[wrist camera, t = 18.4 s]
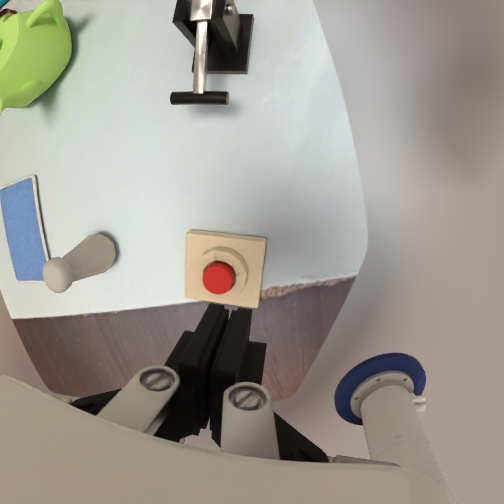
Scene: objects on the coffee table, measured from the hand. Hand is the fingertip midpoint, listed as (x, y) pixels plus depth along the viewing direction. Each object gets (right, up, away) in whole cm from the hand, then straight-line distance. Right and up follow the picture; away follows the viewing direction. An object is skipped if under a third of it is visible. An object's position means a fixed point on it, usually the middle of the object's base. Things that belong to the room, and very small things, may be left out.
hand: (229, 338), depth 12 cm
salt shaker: (-21, +4, +30) cm, 37 cm away
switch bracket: (-3, +30, +20) cm, 36 cm away
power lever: (-4, +24, +14) cm, 28 cm away
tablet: (-41, +7, +31) cm, 52 cm away
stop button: (-3, 0, +25) cm, 25 cm away
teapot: (-35, +35, +22) cm, 55 cm away
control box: (-3, +2, +28) cm, 28 cm away
